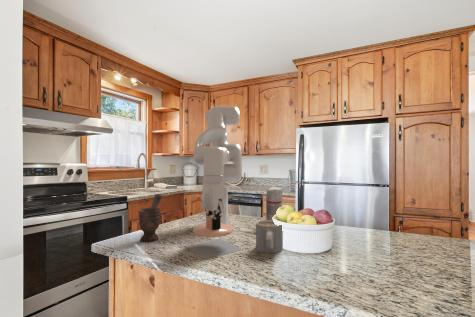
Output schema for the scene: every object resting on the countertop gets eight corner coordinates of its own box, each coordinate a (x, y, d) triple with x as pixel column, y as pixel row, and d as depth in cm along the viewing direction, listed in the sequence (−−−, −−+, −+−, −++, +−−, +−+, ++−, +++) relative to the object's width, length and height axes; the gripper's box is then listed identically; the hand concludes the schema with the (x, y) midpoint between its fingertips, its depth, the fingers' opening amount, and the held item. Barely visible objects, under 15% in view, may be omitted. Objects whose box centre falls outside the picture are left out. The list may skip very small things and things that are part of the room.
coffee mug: (259, 244, 104) (259, 219, 104) (284, 247, 101) (284, 221, 101) (250, 255, 92) (250, 227, 92) (278, 259, 88) (278, 229, 88)
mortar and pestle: (170, 240, 109) (171, 192, 109) (157, 246, 101) (157, 194, 101) (148, 237, 113) (148, 191, 113) (133, 242, 105) (134, 193, 105)
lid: (186, 229, 101) (186, 214, 101) (220, 223, 109) (220, 210, 109) (204, 239, 88) (204, 223, 88) (240, 232, 97) (240, 217, 97)
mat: (184, 247, 100) (184, 245, 100) (220, 240, 109) (220, 238, 109) (203, 260, 87) (203, 258, 87) (242, 251, 96) (242, 249, 96)
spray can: (283, 229, 127) (283, 188, 128) (266, 229, 128) (267, 188, 128) (281, 224, 136) (281, 186, 136) (265, 224, 136) (265, 186, 136)
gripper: (194, 178, 103) (194, 224, 104) (215, 182, 89) (215, 235, 90) (211, 177, 107) (211, 221, 108) (234, 181, 94) (233, 231, 94)
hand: (213, 227), depth 99 cm, fingers closed on lid, 4 cm apart
